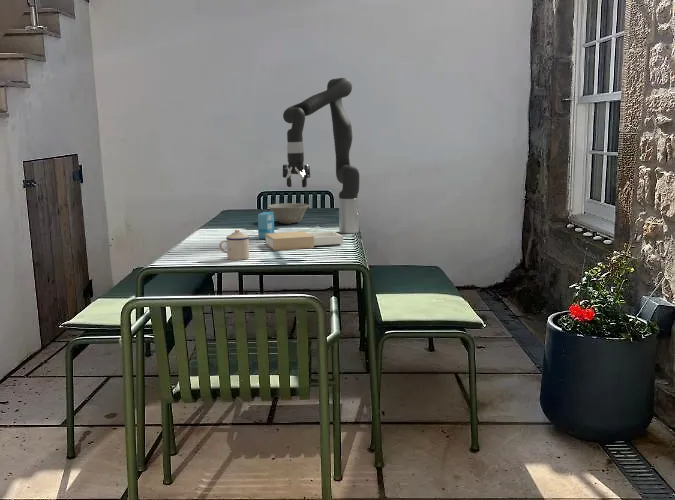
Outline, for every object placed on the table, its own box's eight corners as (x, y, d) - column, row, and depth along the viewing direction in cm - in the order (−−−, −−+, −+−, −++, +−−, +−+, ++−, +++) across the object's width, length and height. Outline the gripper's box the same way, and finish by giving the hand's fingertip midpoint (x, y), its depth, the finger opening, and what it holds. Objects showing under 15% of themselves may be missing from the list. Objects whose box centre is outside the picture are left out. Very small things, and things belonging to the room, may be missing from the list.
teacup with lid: (251, 256, 271) (250, 228, 269) (247, 260, 262) (246, 231, 260) (222, 256, 271) (220, 228, 269) (217, 260, 262) (216, 231, 260)
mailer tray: (333, 239, 307) (333, 231, 307) (343, 243, 294) (343, 235, 294) (266, 243, 297) (265, 235, 297) (273, 248, 284) (272, 240, 284)
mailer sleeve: (303, 242, 304) (303, 231, 303) (313, 247, 289) (313, 236, 288) (265, 244, 298) (265, 233, 297) (273, 250, 283) (273, 238, 283)
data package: (267, 239, 312) (266, 214, 310) (258, 239, 313) (257, 214, 311) (274, 235, 324) (273, 211, 322) (265, 235, 325) (264, 211, 323)
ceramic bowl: (260, 224, 365) (259, 206, 363) (284, 219, 384) (284, 202, 382) (292, 227, 353) (292, 208, 352) (316, 221, 373) (316, 204, 371)
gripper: (312, 151, 303) (313, 186, 306) (288, 151, 311) (289, 186, 314) (303, 152, 297) (304, 188, 300) (278, 152, 305) (279, 187, 308)
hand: (296, 187), depth 307 cm, fingers open, 8 cm apart
